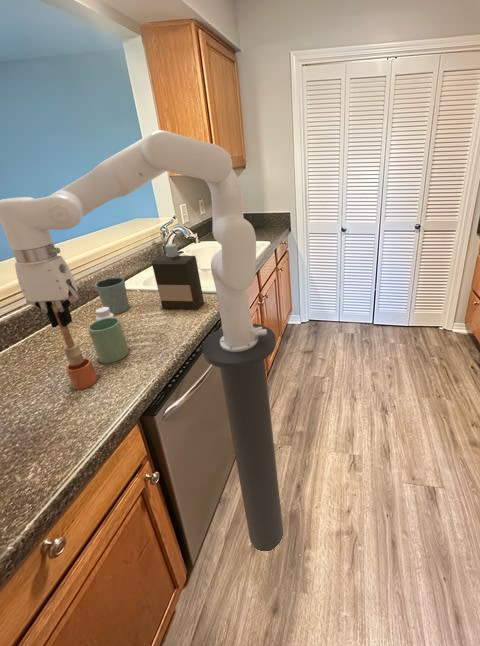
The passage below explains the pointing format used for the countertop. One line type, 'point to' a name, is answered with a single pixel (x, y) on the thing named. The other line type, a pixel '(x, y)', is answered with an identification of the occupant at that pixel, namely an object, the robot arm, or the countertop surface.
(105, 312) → the supplement bottle
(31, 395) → the countertop surface
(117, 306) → the blue-gray pot
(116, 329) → the tumbler
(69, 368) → the holder
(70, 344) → the brush
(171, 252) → the bottle
